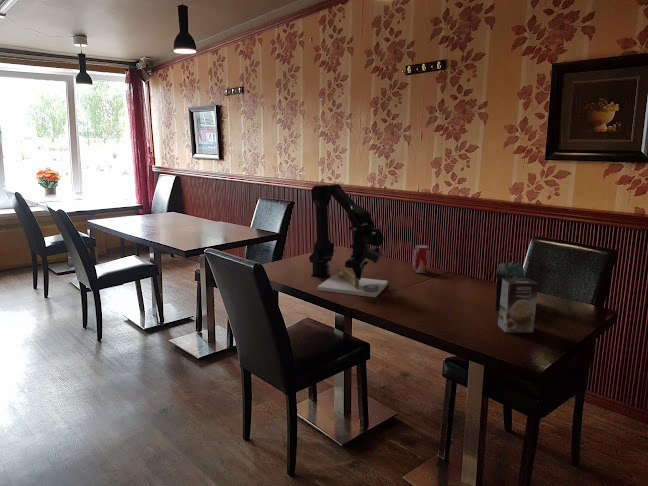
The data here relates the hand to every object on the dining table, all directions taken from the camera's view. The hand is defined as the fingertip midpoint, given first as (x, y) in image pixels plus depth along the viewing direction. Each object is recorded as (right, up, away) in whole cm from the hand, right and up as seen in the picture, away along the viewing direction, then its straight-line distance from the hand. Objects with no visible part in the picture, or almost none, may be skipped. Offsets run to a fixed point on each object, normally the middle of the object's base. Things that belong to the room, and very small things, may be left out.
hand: (359, 279), depth 196 cm
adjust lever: (-4, -1, +5) cm, 6 cm away
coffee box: (+47, -13, -41) cm, 63 cm away
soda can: (+30, +1, +24) cm, 38 cm away
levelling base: (-2, -3, +2) cm, 4 cm away
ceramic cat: (+53, -8, -19) cm, 57 cm away
